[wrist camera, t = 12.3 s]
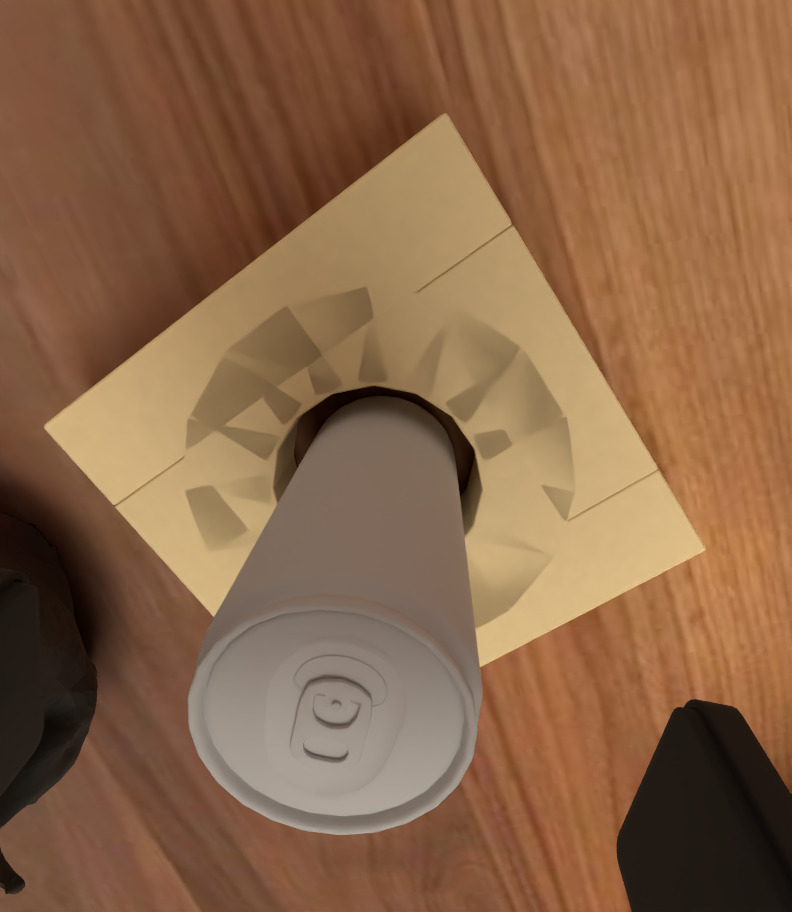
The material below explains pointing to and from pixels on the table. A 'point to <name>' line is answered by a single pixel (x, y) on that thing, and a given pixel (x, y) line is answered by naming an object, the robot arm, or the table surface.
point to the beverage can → (348, 635)
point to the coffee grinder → (48, 676)
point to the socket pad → (400, 368)
